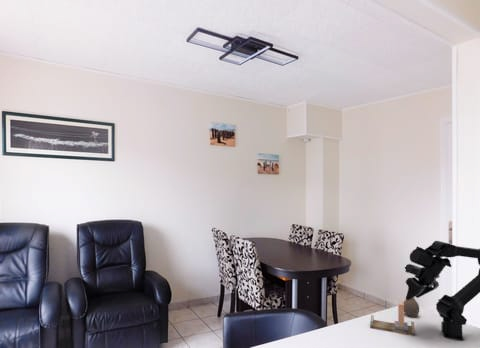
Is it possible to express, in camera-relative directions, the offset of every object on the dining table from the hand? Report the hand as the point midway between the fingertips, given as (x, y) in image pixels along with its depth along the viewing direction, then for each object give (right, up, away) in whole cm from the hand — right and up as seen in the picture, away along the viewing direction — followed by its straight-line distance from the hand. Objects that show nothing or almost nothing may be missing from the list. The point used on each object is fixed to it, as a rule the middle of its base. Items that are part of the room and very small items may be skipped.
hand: (411, 298), depth 139 cm
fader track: (-8, -13, +1) cm, 16 cm away
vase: (+7, -14, +14) cm, 21 cm away
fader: (-5, -12, -1) cm, 13 cm away
